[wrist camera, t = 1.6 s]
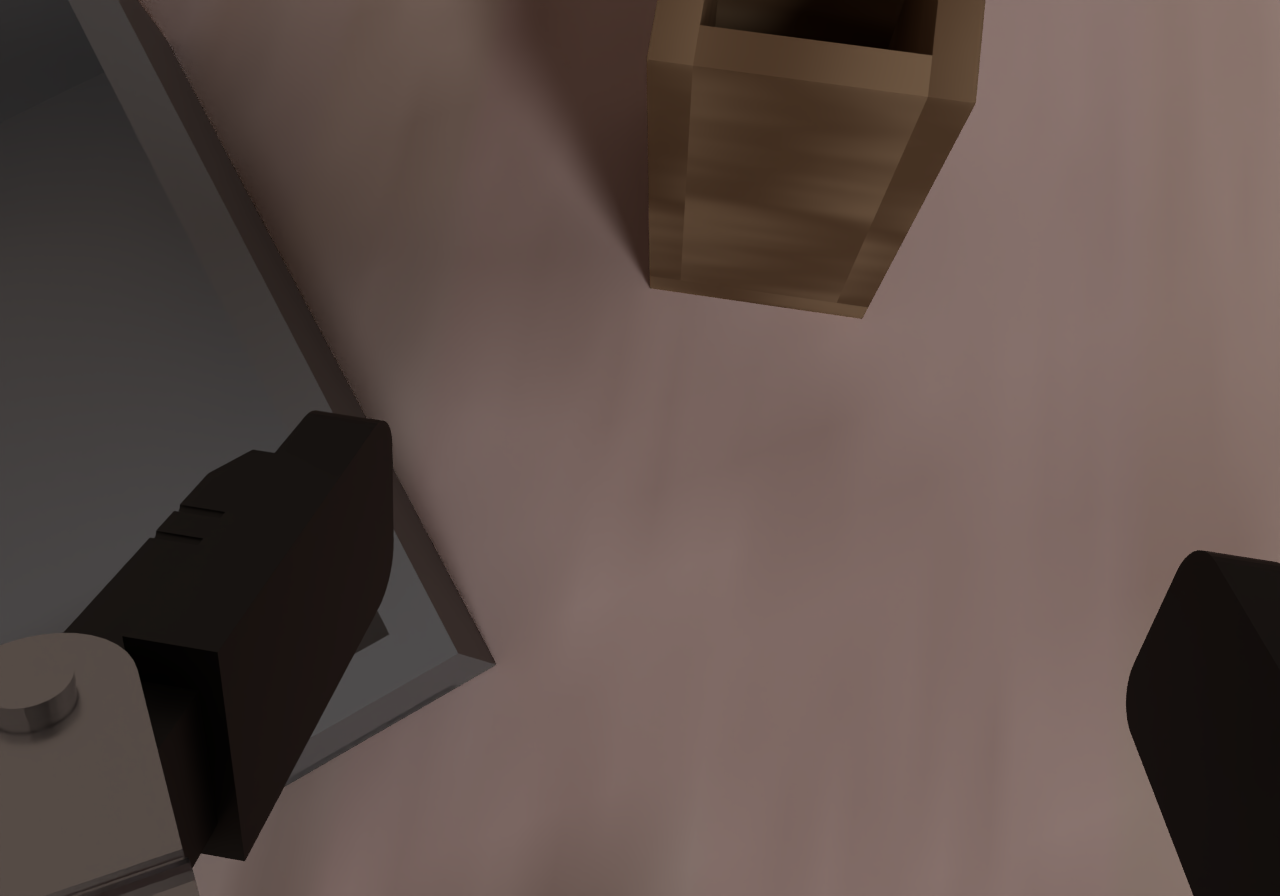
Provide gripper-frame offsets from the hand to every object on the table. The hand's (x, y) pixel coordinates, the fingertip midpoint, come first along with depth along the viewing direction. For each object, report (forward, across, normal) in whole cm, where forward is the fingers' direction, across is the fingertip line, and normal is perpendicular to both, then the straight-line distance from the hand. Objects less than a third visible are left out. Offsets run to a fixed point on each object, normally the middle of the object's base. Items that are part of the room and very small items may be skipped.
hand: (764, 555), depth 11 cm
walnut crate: (+19, 0, +2) cm, 19 cm away
